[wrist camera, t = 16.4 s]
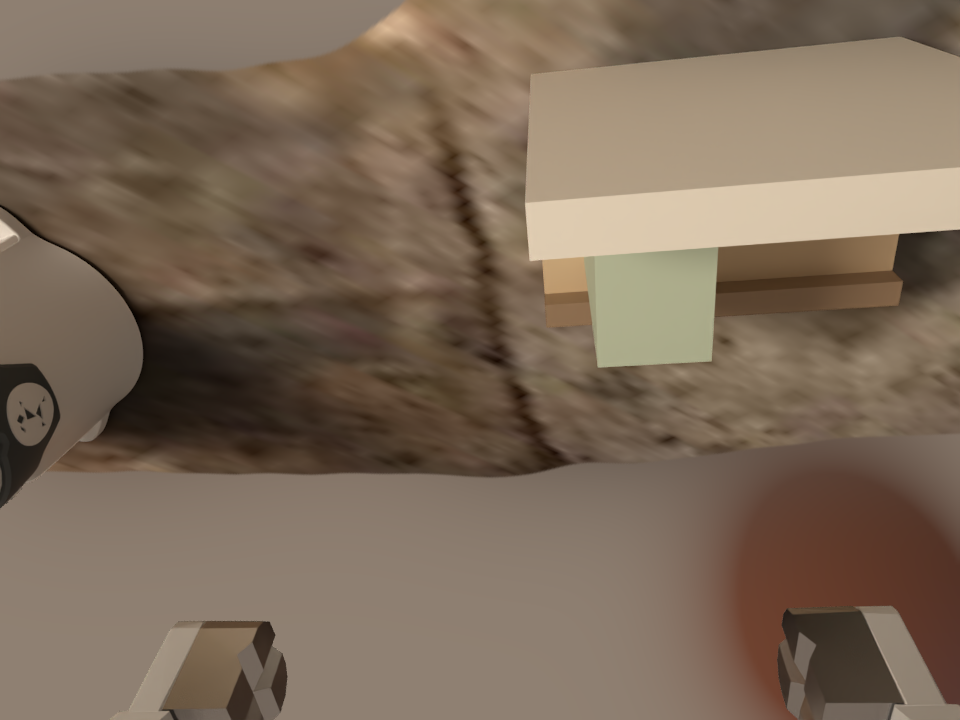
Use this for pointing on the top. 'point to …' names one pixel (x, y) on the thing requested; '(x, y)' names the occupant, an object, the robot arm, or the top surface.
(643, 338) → the cabinet
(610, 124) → the wall board
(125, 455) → the top surface
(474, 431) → the top surface
